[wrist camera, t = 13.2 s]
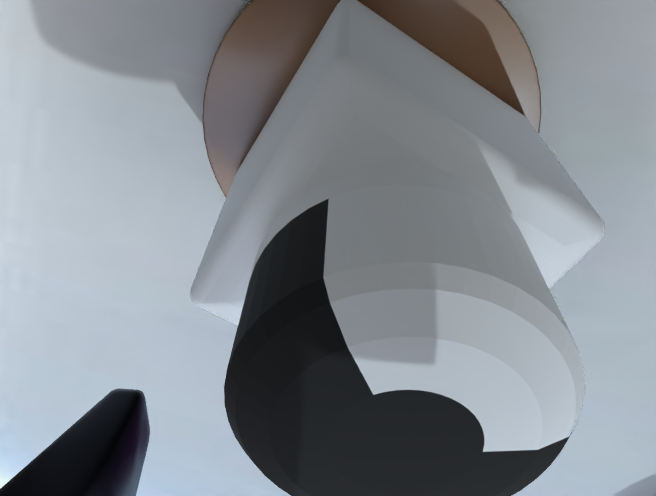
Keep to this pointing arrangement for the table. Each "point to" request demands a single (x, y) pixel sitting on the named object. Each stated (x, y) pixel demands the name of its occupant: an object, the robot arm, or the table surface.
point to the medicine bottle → (397, 279)
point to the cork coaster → (302, 31)
